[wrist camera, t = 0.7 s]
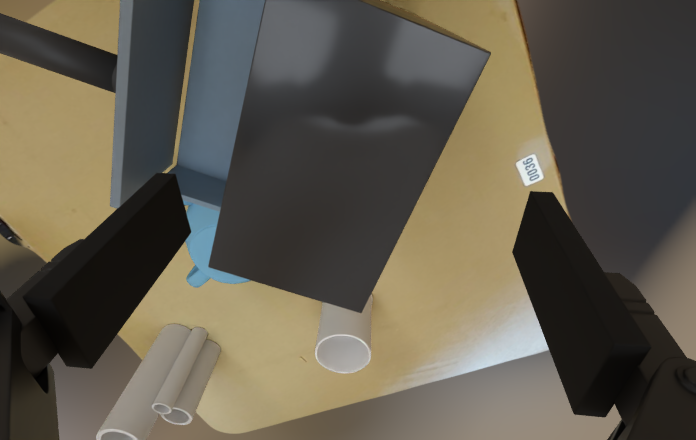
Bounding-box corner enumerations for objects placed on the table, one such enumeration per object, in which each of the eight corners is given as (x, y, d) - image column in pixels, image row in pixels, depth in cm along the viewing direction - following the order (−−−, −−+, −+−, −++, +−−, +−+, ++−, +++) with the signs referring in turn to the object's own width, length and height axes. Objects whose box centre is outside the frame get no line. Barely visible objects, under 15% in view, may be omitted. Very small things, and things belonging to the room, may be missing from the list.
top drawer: (25, 115, 29) (-72, 150, 22) (9, -124, 22) (-136, -171, 16) (287, 202, 31) (266, 255, 25) (347, 10, 24) (338, 17, 18)
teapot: (246, 280, 66) (221, 337, 55) (143, 200, 60) (92, 247, 49) (330, 209, 59) (320, 259, 48) (222, 110, 52) (182, 141, 41)
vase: (160, 345, 75) (96, 451, 58) (161, 318, 72) (94, 422, 54) (219, 358, 76) (174, 466, 59) (223, 332, 73) (177, 439, 55)
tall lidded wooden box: (297, 116, 52) (207, 267, 24) (336, -18, 44) (272, -36, 16) (369, 142, 53) (365, 315, 25) (418, 15, 46) (498, 55, 17)
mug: (368, 332, 71) (367, 391, 60) (320, 328, 71) (311, 386, 60) (375, 280, 65) (375, 336, 55) (323, 276, 65) (313, 330, 55)
